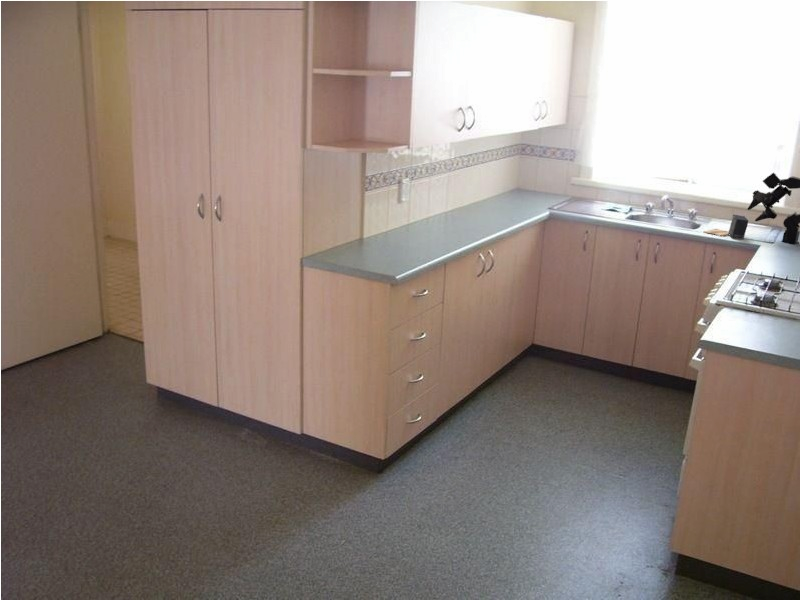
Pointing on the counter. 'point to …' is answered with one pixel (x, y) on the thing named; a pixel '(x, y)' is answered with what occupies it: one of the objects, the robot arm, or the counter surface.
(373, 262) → the counter surface
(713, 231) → the cork mat
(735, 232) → the small box
